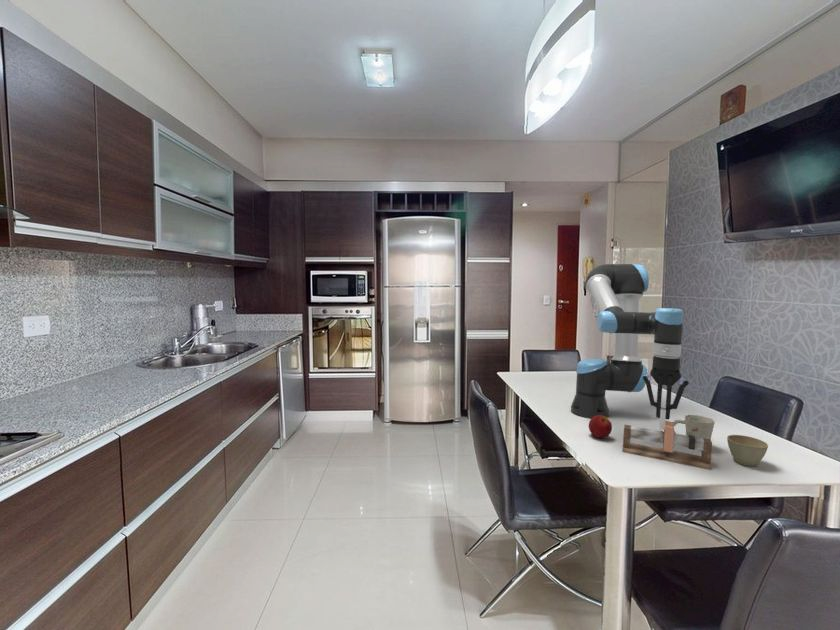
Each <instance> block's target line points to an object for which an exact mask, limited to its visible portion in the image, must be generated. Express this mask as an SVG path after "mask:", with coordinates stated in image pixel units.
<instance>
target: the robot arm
mask: <svg viewBox="0 0 840 630" xmlns="http://www.w3.org/2000/svg"><path fill="white" fill-rule="evenodd" d="M649 280H650V277H649V274H648V270H647V269H646V267H645V266H644V265H642V264H638V263H637V264H636V263H605V264H600V265H597V266H596V267H594V268H592V269H591V270H590V271H589V272H588V274H587V275H586V278H585V281H584V282H585V288H586V290H587V292H588V293H589V294H590V295H592V298H593V300H594V302H595V305H596V307H597V308H598V311H599V313H598V315H597V329H598V331H599V332H601V333H609V334H615V341H614V342H615V343H614V348H615V350H614V355H613V357H612V358H610V362H608V360H607V359H604V358H587V359H583V360H580V361H578V363H577V367H576V383H575V385H576V386H575V395H574V397H573V400H572V403H571V405H570V412H571V413H572V414H574V415H576V416H579V417H583V418H587V419H591V418H593V417H594V416H597V415H602V416H605V417H606V418H608V417H609V415H610V409H609V406H608V403H607V399H606V391H608V392H609V391H611V392H626V393H639V392H641V391H643V389H644V388H646V390H647V396H648V399H649V404H650V406H652V407H655V409H656V410H655V416H656V417H655V418H656V419H659V426H658V427H659V428H658V429H659V430H661V431H664V430H665V421H666V420H667V421H669V420H670V417H671V410H676V409H678V406H679V405H680V401H681V399H682V395H683V393H684V390H685V388H686V387H687V386H688V385H689V384H690V382H689V380H688V379H686V378H684V376H683V377H682V374H681V372H680V371H681V370H680V369H681V358H680V357H681V356H682V355H681V354H682V341H683V340H682V339H683V329H684V327H683V326H684V311H683V310H682V309H680V308H671V307H670V308H667V307H666V308H665V307H664V308H663V307H662V308H661V307H660V308H657V309H656V310H655V311H648V312H645V311H643V312H642V311H639V309H640V308H639V307H640V304H639V301H640V299H641V298H642V297H643V296H644V293H645V292H647V291H648V288H649V284H650V281H649ZM639 335H653V350H652V351H653V352H652V353H653V355H654V356H652V366H651V370H650V372H649V373H648V369H647V368H648V367H647V366H646V365H644V364H643V361H642V360H641V358H640V357H639V344H638V343H639ZM652 379H653V380H654V381H655V383H656V384H657V392H656V393H657V396H656V401H655V398H654V397H655V396H654V394H653V389H652V383H651V381H652ZM677 382H679V387H678V388H677V389H678V390H677V392H676V394H675V397H674V400H673V402H672V391H673V390H672V388H673V386H674V385H675V384H676V383H677ZM663 386H666V396H665V397H666V398H665V407H662V399H663V398H662V397H663ZM671 403H672V404H671Z"/></svg>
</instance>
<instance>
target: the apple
mask: <svg viewBox="0 0 840 630" xmlns="http://www.w3.org/2000/svg"><path fill="white" fill-rule="evenodd" d="M588 430H589V432H590V434H591V435H593V436H594V437H595V438H598V439H604V438H607V437H608V436H610V434H611V433H612V430H613V426H612V422H611V421H610V419H608V417H605V416H602V415H597V416H594V417H593V418H590V420H589V422H588Z"/></svg>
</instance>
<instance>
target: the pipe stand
mask: <svg viewBox="0 0 840 630" xmlns="http://www.w3.org/2000/svg"><path fill="white" fill-rule="evenodd" d="M675 433H676V432H675ZM675 433H674V438H673V447H674V446H675V447H679V448H680V447H681V448H687V449H688V450H692V451H697V450H698V451H701V454H700V455H699V454H698V455H697V454H693V453H688V452H682V451H676V450H673V453H672V452H666V451H664V449H663V448H662V447H661V448H660V447H655V446H649V445H644V444H639V443H635V442H631V438H632V439H638V440H642V441H643V440H644V441H646V442H647V441H648V442H653V443H659V444H662V445H663V444H664V435H665V432H664V430H657V429H652V428H651V429H650V428H646V427H639V426H633V425H629V424H624V426H623V438H622V439H623V441H622V449H621V450H622V453H627V454H630V455H637V456H642V457H645V458H652V459H656V460H662V461H666V462H671V463H677V464H681V465H685V466H686V465H687V466H691V467H696V468H702V469H706V470H712V463H711V461H712V449H713V441H712V438H711V439H708V438H699V437H695V436H692V435H688V436H687V435H686V434H680V433H676V434H675Z"/></svg>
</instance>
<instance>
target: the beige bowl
mask: <svg viewBox="0 0 840 630" xmlns="http://www.w3.org/2000/svg"><path fill="white" fill-rule="evenodd" d="M726 438H727V439H726V440H727V441H726V442H727V445H728V449H729V452H730V454H731V455H732V458H733V459H734V461H735V462H736V463H738V464H739V465H744V466H746V467H747V466H748V467H754V466H755V467H756V466H757V465H758V464H759V463H760V462H761V461H762V460H763V458H764V457H765V455H766V453H767V452H768V448H769V444H768V443H767V442H766V441H764V440H762V439H759V438H757V437H752V436H749V435H748V436H747V435H742V434H728V435H727V437H726Z"/></svg>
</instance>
